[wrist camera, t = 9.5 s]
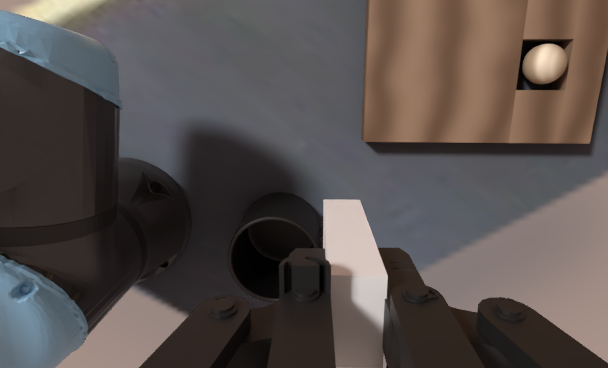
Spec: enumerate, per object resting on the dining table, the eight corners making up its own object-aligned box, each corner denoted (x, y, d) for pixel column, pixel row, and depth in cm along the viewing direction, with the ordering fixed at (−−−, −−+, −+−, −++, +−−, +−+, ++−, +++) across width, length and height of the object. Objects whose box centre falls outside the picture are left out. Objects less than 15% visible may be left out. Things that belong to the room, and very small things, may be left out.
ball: (512, 83, 41) (555, 84, 38) (518, 43, 40) (562, 40, 37) (528, 84, 43) (569, 84, 40) (534, 46, 42) (576, 43, 39)
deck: (361, 138, 45) (363, 141, 42) (367, -15, 40) (370, -21, 38) (574, 140, 44) (589, 143, 41) (602, -16, 40) (621, -22, 37)
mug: (344, 257, 48) (350, 296, 40) (250, 266, 49) (235, 306, 40) (337, 185, 46) (341, 209, 37) (238, 195, 47) (219, 221, 38)
